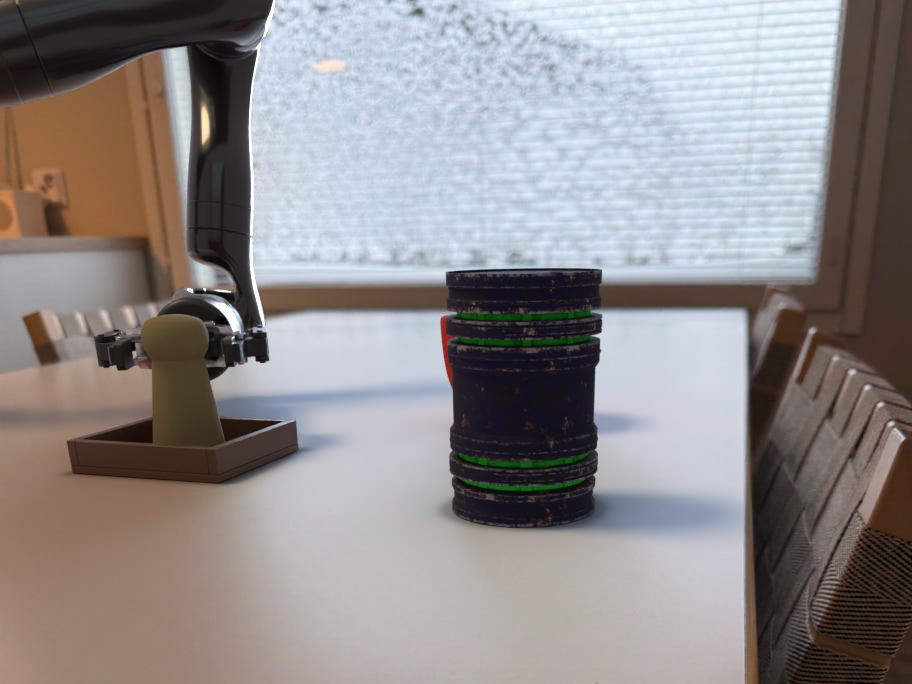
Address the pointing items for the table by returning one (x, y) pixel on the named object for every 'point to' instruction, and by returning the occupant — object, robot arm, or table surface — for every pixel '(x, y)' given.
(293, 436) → the serving tray
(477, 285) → the storage jar
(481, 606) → the table surface
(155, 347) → the olive green pepper mill
